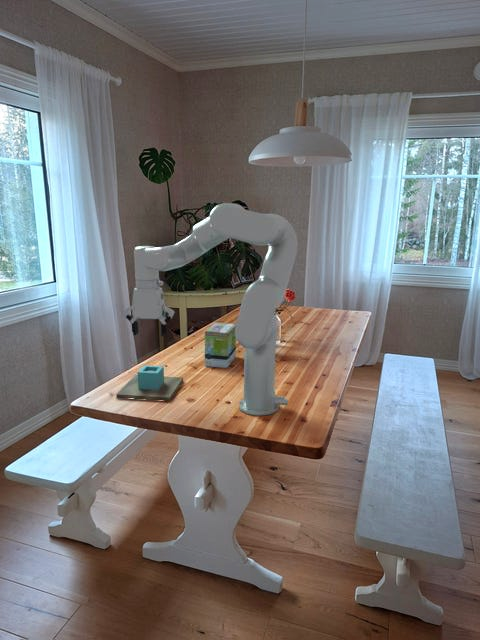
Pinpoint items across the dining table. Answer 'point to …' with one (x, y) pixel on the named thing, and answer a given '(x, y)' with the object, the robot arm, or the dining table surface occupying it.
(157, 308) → the robot arm
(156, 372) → the collar
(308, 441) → the dining table surface
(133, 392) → the post board
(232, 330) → the tea box
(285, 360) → the dining table surface
